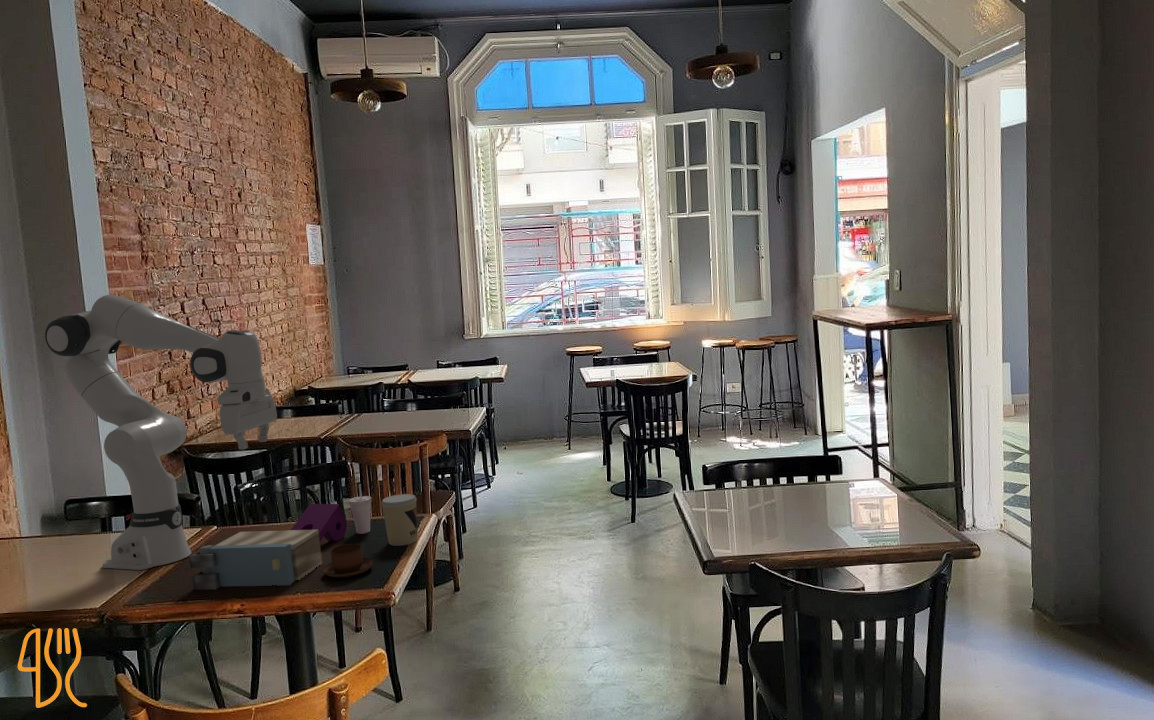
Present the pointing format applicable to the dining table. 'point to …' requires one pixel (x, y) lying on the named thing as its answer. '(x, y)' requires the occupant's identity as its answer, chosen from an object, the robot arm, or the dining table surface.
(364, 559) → the cup and saucer
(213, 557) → the cabinet
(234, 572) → the door
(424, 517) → the dining table surface
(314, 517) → the mounting bracket
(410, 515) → the coffee cup
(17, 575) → the dining table surface
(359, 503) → the smoothie
